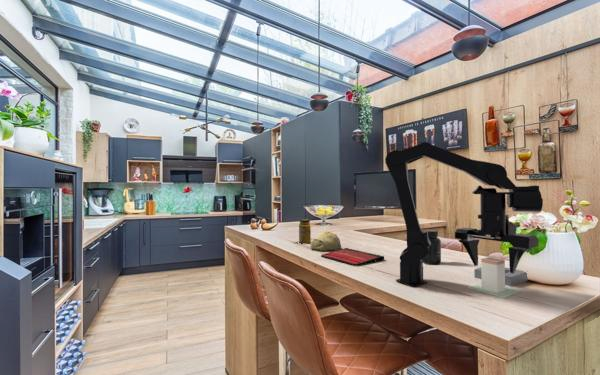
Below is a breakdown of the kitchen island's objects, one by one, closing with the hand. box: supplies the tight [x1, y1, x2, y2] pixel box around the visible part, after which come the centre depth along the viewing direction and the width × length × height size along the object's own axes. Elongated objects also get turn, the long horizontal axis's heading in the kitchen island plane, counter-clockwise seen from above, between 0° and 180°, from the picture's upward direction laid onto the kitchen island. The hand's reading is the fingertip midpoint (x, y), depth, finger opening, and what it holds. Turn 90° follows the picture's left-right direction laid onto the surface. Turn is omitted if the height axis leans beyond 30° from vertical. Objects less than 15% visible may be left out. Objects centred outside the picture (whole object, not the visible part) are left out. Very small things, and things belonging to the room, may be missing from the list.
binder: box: [320, 247, 385, 267], centre depth 123 cm, size 16×2×21 cm
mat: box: [467, 283, 522, 299], centre depth 82 cm, size 9×9×1 cm
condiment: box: [293, 218, 312, 245], centre depth 159 cm, size 7×8×12 cm
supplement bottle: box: [421, 229, 442, 265], centre depth 114 cm, size 7×7×12 cm
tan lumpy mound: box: [309, 231, 342, 252], centre depth 142 cm, size 14×12×8 cm
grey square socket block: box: [473, 266, 529, 287], centre depth 92 cm, size 10×10×3 cm
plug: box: [480, 257, 506, 293], centre depth 82 cm, size 4×4×8 cm
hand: (493, 269), depth 82 cm, fingers open, 9 cm apart
